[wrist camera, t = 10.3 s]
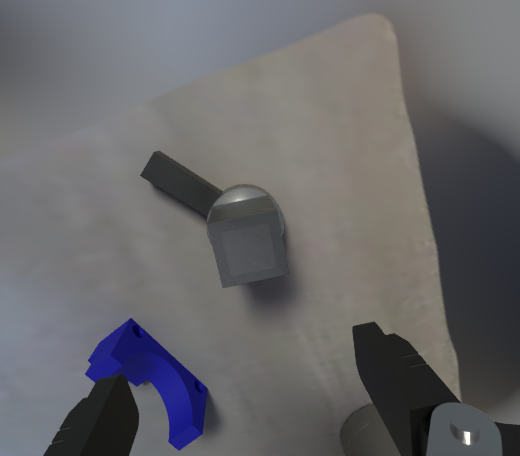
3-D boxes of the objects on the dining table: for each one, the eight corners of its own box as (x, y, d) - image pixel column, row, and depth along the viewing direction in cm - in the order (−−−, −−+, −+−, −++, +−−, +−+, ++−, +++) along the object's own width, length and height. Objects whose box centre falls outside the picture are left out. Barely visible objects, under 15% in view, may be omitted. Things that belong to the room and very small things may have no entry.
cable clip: (100, 341, 33) (72, 383, 28) (131, 316, 33) (110, 354, 27) (177, 408, 37) (167, 458, 31) (207, 386, 36) (202, 433, 30)
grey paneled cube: (268, 195, 28) (277, 210, 22) (277, 247, 29) (289, 274, 23) (212, 206, 28) (207, 224, 22) (224, 258, 29) (222, 288, 23)
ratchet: (294, 209, 31) (309, 228, 25) (254, 265, 32) (259, 296, 26) (172, 128, 28) (155, 126, 22) (134, 194, 29) (107, 209, 23)
